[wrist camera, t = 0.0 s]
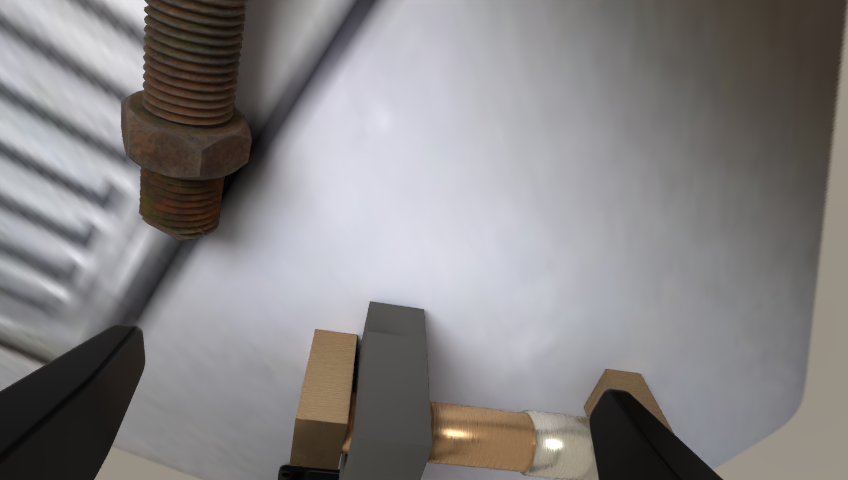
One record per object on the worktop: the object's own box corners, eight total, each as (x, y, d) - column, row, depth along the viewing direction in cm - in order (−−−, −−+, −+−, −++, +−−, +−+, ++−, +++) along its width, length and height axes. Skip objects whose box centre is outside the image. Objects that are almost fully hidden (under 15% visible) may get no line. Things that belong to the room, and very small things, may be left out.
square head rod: (640, 373, 31) (690, 464, 26) (617, 411, 33) (659, 503, 27) (315, 329, 28) (295, 420, 23) (308, 373, 30) (288, 468, 24)
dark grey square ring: (423, 309, 27) (432, 446, 20) (392, 418, 32) (390, 561, 24) (369, 301, 27) (358, 438, 19) (346, 413, 31) (329, 557, 24)
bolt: (193, 181, 25) (226, -182, 17) (268, 229, 24) (339, -139, 16) (76, 216, 20) (51, -263, 13) (162, 279, 19) (192, -211, 11)
